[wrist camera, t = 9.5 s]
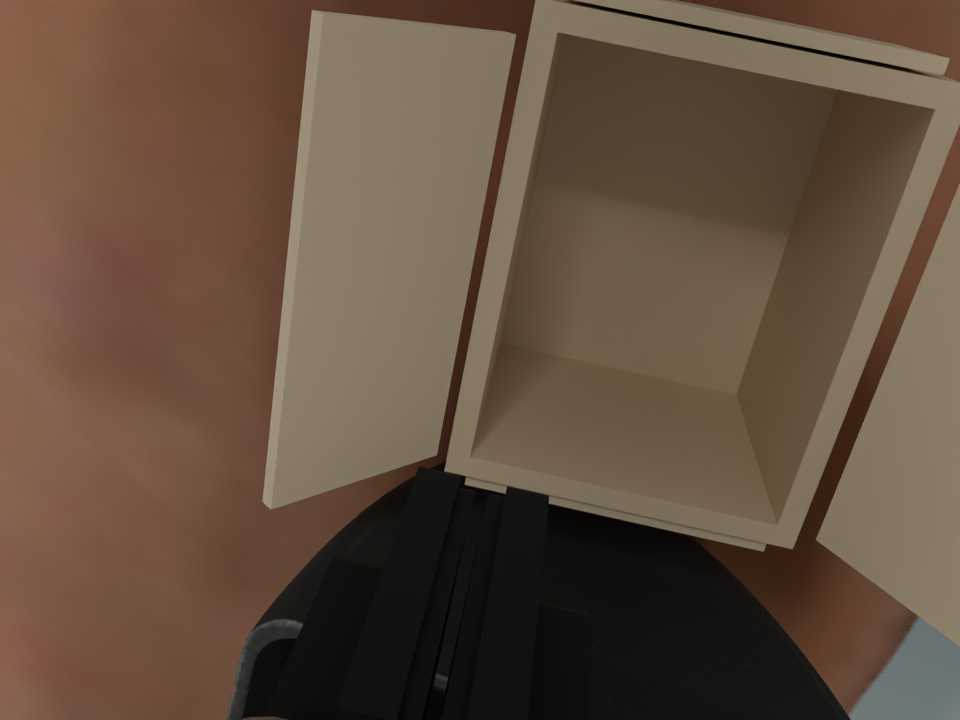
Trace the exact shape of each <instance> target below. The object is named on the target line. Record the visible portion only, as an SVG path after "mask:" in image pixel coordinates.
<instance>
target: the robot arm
mask: <svg viewBox="0 0 960 720" xmlns="http://www.w3.org/2000/svg"><path fill="white" fill-rule="evenodd" d="M460 480H461V476H460V475H455V474H451V473H446V472H442V471H437V470H433V469H428V468H424V467H419V469H418V471H417V474H416V477H415V480H414V483H413V486H412V489H411V491H410V494H409V497H408V500H407V503H406V506H405V509H404V512H403V514H402V517H401V520H400V523H399V526H398V529H397V532H396V535H395V538H394V540H393V543H392V546H391V549H390V552H389V555H388V558H387V561H386V563H385V566H383V565H379V564H374V563H370V562H366V561H361V560H357V559H352V558H348V557H343V556H339V555H335V556H334V557H333V558H332V560H331V562H330V564H329V566H328V568H327V571H326V573H325V575H324V577H323V580H322V582H321V584H320V587H319V589H318V591H317V593H316V596H315V598H314V600H313V603H312V605H311V607H310V610H309V612H308V614H307V616H306V619H305V621H304V623H303V626H302V628H301V630H300V632H299V635H298V637H297V639H296V642H295V644H294V646H293V649H292V651H291V653H290V655H289V658H288V660H287V662H286V665H285V667H284V669H283V672H282V674H281V676H280V678H279V681H278V683H277V685H276V688H275V690H274V692H273V694H272V697H271V699H270V701H269V704H268V706H267V708H266V711H265V713H264V715H263V717H248V718H245V719H241V720H426V716H427V712H428V707H429V703H430V699H431V694H432V690H433V685H434V681H435V677H436V672H437V668H438V663H439V658H440V654H441V649H442V645H443V640H444V635H445V630H446V626H447V621H448V616H449V611H450V607H451V602H452V597H453V593H454V588H455V583H456V578H457V574H458V569H459V564H460V560H461V555H462V550H463V545H464V541H465V536H466V531H467V526H468V522H469V517H470V512H471V508H472V503H473V498H474V493H475V491H474V490H470V489H465V488H461V487H459V485H460ZM548 505H549V495H545V494H541V493H536V492H532V491H527V490H523V489H518V488H514V487H509V486H507V489H506V493H505V497H501V496H497V495H492V494H488V498H487V502H486V507H485V511H484V516H483V521H482V525H481V530H480V534H479V539H478V543H477V548H476V552H475V557H474V562H473V566H472V571H471V575H470V580H469V584H468V589H467V593H466V598H465V602H464V607H463V612H462V616H461V621H460V625H459V630H458V634H457V639H456V643H455V648H454V652H453V657H452V662H451V666H450V671H449V676H448V680H447V685H446V690H445V695H444V699H443V704H442V709H441V714H440V718H439V720H589V711H590V661H591V615H590V612H587V611H583V610H578V609H574V608H570V607H565V606H561V605H556V604H552V603H547V602H543V601H539V596H540V586H541V576H542V566H543V556H544V546H545V536H546V526H547V515H548Z"/></svg>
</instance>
